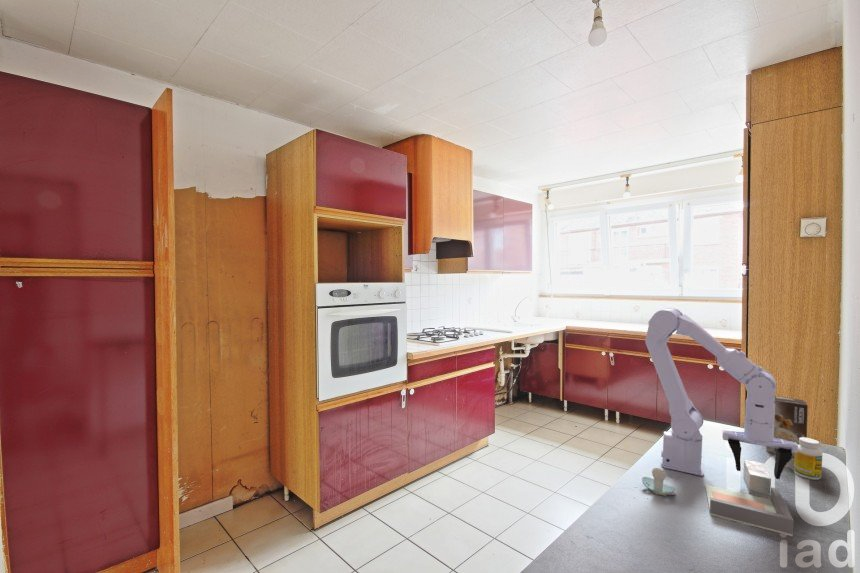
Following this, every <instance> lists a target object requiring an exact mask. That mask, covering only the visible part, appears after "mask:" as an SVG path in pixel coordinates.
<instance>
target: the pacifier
mask: <svg viewBox="0 0 860 573" xmlns="http://www.w3.org/2000/svg"><path fill="white" fill-rule="evenodd" d="M651 475H652V477H653V478H651V477H648V476H642V478H641V481H642V484H643V485H644V486H645V488H647V489H649V490H650V491H651V492H652V491H653V492H652V493H654V492H655V493H654V494H656V493H657V494H656V495H660V496H675V495H676V488H675V487H674V486H672V485H668V484H666V483H664V481H665V479H666V474H665V472H664V471H663V470H662V469H661V468H659V467H654V468H652V470H651Z"/></svg>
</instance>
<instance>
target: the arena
mask: <svg viewBox="0 0 860 573" xmlns="http://www.w3.org/2000/svg"><path fill="white" fill-rule="evenodd" d="M704 487H705V491H706V492H707V493H706V492H705V493H706V497H707V498H708V499H707V503H708V504H709V505H708V510H709V515H710V516H714V517H717V518H720V519H726V520H729V521H733V522H736V523H740V524H744V525H748V526H751V527H756V528H760V529H763V530H767V531H771V532H774V533H778V534H782V535H786V536H789V537H793V534H794V531H793V530H794V519H793V516H792V515H791V513H790V511H789V507H788V506H787V505H786V502H785V501H784V498H783V497H782V495H781V493H780V490H779V488H776V487H771V490H770V498H765V497H761V496H757V495H753V494H749V493H744V492H739V491H736V490H731V489H726V488H722V487H718V486H714V485H709V484H705V485H704Z"/></svg>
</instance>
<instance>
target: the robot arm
mask: <svg viewBox="0 0 860 573" xmlns="http://www.w3.org/2000/svg"><path fill="white" fill-rule="evenodd" d="M674 333H675V335H678V336H679V335H680V336H686V337H689V338H691V339H692V340H693V341H695V342H696V343H697V344H699V345H700V346H701V347H702V348H704V349H705V350H707V351H708V352H709V353H710V354H712V355H714V356H715V357H716V363H717V366H720V367H721V368H722V369H723V370H724V371H725V372H727V374H729V375H730V376H731V377H732V378H734V379H735V380H736V381H738V382H739V383H741V384H743V385H744V388H745V390H746V392H747V394H746V399H745V407H744V408H745V411H744V430H743V431H734V430H732V431H731V430H726V429H725V430H724V429H723V430H722V440H723V441H727V442H728V445H729V448H730V450H731V452H732V454H733V458H734V461H735V469H736V471H737V472H741V470H742V468H741V455H742V447H741V443H745V444H749V445H755V446H762V447H765V446H766V447H772V448H775V453H774V454H775V455H774V460H775V462H774V467H773V468H774V469H773V473H774V474H773V475H774V477H775V479H777V480H780V479H781V475H782V474H783V470H784V469H785V467H786V466H787V464H788V463H789V462H790V461H791V460H792V458H793V457H792V453H791V452H794V453H798V445H797V444H796V442H791V441H786V440H782V439H778V438H774V420H775V404H774V401H775V396H776V395H775V394H776V392H777V381H776V378H775V377H774V376H773V375H772V373H771V372H770V371H767V370H765V369H764V367H762V366H761V365H757V364H755V363H754V362H753V361H751V360H750V359H749V358H748V357H747V356H746V355H747V354H746V352H745V351H743V350H737V348H728V347H726V346H724V345H723V344H722V343H721V342H720V341H718V340H717V338H715V337H713V336H712V334H710V332H708V331H707V330H705V329H704V328H703V327H702V326H701V325H700V324H698V323H697V322H696V321H695V320H694V319H692V318H691V317H689V316H688V315H687V314H683V312H681V311H680V310H679V309H677V308H674V307H668V308H665V309H659V310H658V311H656V312H655V313H654V314H653V315H652V316H651V318H650V319H649V320H648V327H647V330H646V336H645V340H644V342H645V345H646V347H647V350H648V354H649V356H650V358H651V360H652V364H653V365H654V369H655V371H656V373H657V375H658V379H659V381H660V384H661V385H662V386H661V387H662V389H663V392H664V394H665V397H666V399H667V402H668V408H669V409H668V410H669V411H668V412H669V415H670V419H671V420H670V427H671V431H665V430H664V431H663V437H662V438H663V440H662V442H663V443H662V450H661V458H662V467H663V468H665V469H668V470H674V471H678V472H682V473H687V474H692V475H695V476H701V477H704V475H705V473H704V467H703V463H702V456H703V454H702V452H703V435H702V433H701V431H700V429H701V427H703V426H704V417H703V415H702V414H701V413H700V411H699V410H698V409H697V408H696V407H695V405H694V402H693V401H692V400H691V399H690V397H689V396H688V393H687V391H686V389H685V386H684V384H683V381H682V378H681V377H680V374H679V372H678V368H677V367H676V363H675V362H674V359H673V357H672V354H671V352H670V349H669V347H668V344H667V343H668V342H669V340H670V338H671V337H672V335H673V334H674Z"/></svg>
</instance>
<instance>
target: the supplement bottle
mask: <svg viewBox="0 0 860 573" xmlns="http://www.w3.org/2000/svg"><path fill="white" fill-rule="evenodd" d="M820 445H821V444H820V441H819V440H816V439H813V438H810V437H807V438H805V437H801V438H799V445H798V453H795V457H794V465H793V466H794V468H793V472H794V473H795V474H796V475H797V476H800V477H802V478H804V479H809V480H814V481H817V480H820V479H822V468H823V451H822V450H821V449H819V448H820V447H821V446H820Z"/></svg>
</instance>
